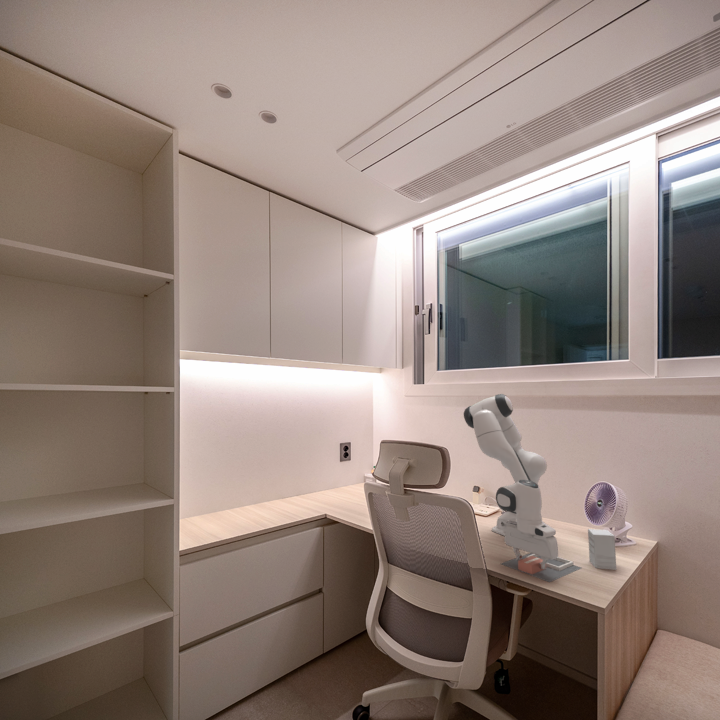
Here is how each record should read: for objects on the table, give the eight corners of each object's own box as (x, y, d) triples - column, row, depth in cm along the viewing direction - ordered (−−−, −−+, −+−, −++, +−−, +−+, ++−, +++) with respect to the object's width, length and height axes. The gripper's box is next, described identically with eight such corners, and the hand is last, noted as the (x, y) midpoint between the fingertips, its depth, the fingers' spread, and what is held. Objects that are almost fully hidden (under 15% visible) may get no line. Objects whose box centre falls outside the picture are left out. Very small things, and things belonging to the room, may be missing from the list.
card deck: (531, 574, 151) (531, 565, 151) (518, 569, 155) (518, 560, 155) (546, 568, 156) (545, 560, 156) (532, 564, 160) (532, 555, 160)
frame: (526, 559, 165) (526, 556, 165) (540, 554, 170) (540, 551, 170) (559, 570, 154) (559, 567, 154) (573, 565, 159) (573, 561, 160)
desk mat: (500, 564, 160) (499, 563, 160) (533, 553, 173) (533, 552, 173) (549, 583, 144) (549, 582, 144) (582, 568, 157) (582, 567, 157)
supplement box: (609, 563, 162) (608, 529, 163) (617, 571, 155) (615, 535, 156) (588, 561, 164) (587, 528, 165) (594, 569, 157) (593, 534, 158)
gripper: (500, 520, 164) (501, 557, 162) (550, 534, 147) (551, 575, 146) (510, 517, 167) (511, 554, 166) (560, 531, 151) (561, 571, 149)
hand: (530, 564), depth 156 cm, fingers open, 8 cm apart
